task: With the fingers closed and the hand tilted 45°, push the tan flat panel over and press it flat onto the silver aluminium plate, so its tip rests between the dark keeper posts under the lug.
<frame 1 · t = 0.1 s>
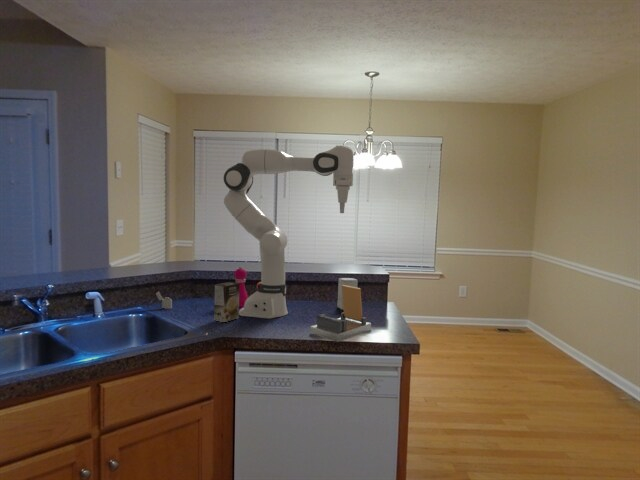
hand: (341, 212, 199), 48 cm above the counter, tool pointing down, fingers open, 8 cm apart
coffee box: (226, 320, 191), on the counter
grey and white fixture: (341, 331, 179), on the counter
skincare box: (346, 308, 219), on the counter
tan flat panel: (352, 303, 183), point 11 cm above the counter, hinge at -80.0°
pepper mill: (240, 306, 217), on the counter
lighter: (163, 308, 208), on the counter
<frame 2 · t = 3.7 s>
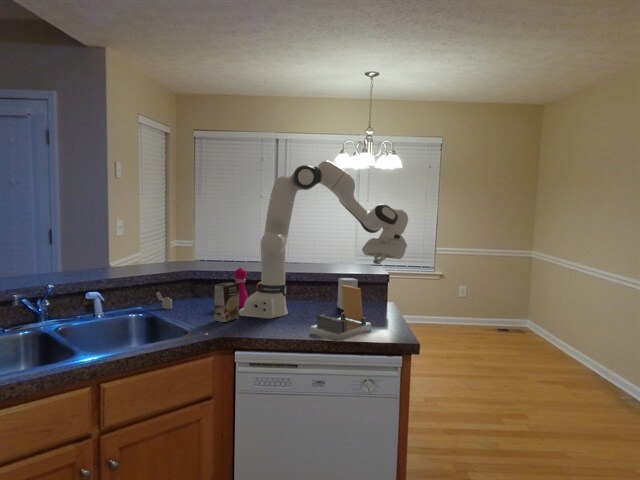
hand: (376, 263, 195), 26 cm above the counter, tool tilted 45°, fingers closed
nothing on the counter moved.
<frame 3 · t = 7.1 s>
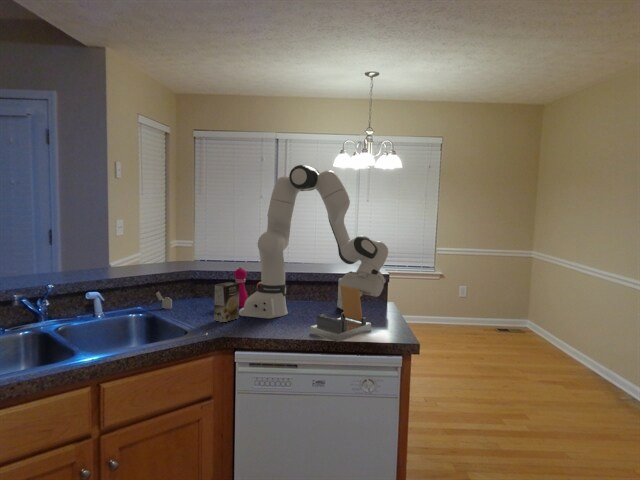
hand: (352, 299, 183), 12 cm above the counter, tool tilted 45°, fingers closed, pressing on tan flat panel
tan flat panel: (351, 303, 183), point 11 cm above the counter, hinge at -76.0°, touching gripper
everything else where it was.
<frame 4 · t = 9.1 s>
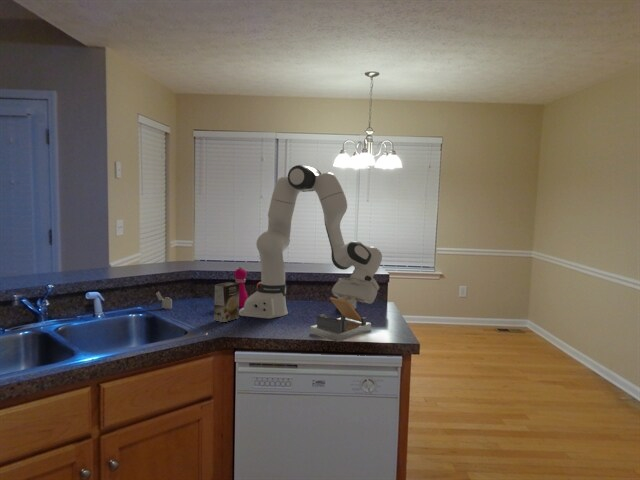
hand: (345, 306, 180), 10 cm above the counter, tool tilted 45°, fingers closed, pressing on tan flat panel
tan flat panel: (346, 309, 181), point 9 cm above the counter, hinge at -43.4°, touching gripper
everything else where it was.
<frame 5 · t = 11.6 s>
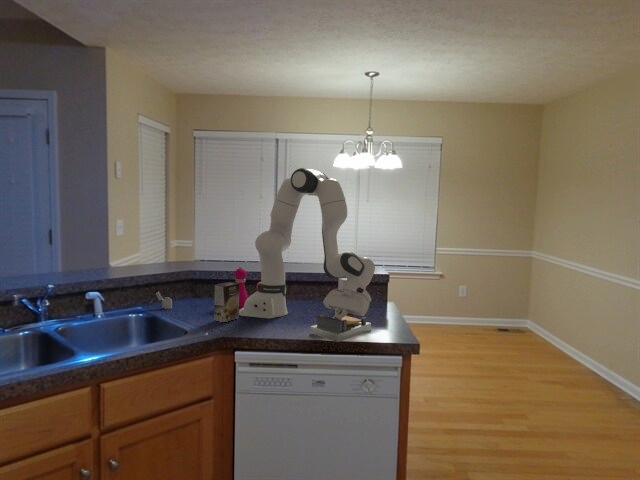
hand: (336, 319, 176), 6 cm above the counter, tool tilted 45°, fingers closed, pressing on tan flat panel
tan flat panel: (343, 320, 180), point 5 cm above the counter, hinge at -5.0°, touching gripper
everything else where it was.
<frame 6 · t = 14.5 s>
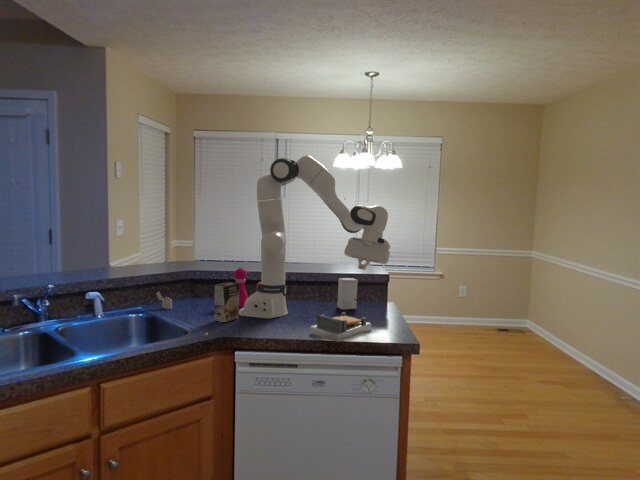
hand: (361, 268, 192), 24 cm above the counter, tool tilted 30°, fingers closed
tan flat panel: (343, 320, 180), point 5 cm above the counter, hinge at -5.0°
everything else where it was.
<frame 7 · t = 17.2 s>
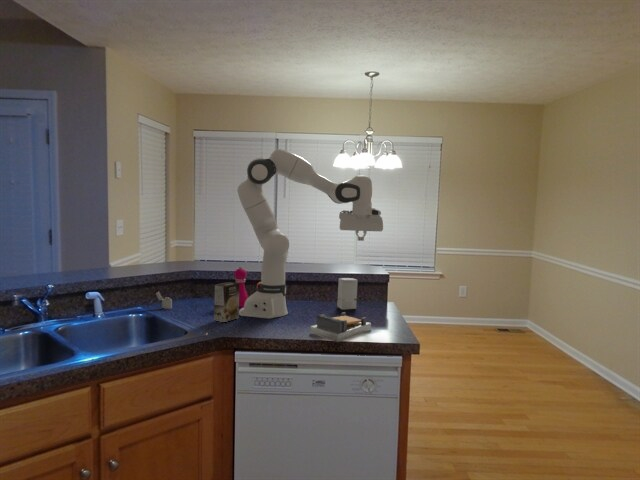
hand: (360, 240, 204), 35 cm above the counter, tool pointing down, fingers closed
nothing on the counter moved.
at the end: tan flat panel at -5° (first picture: -80°) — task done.
